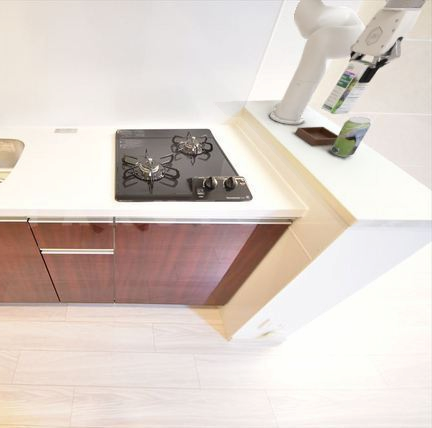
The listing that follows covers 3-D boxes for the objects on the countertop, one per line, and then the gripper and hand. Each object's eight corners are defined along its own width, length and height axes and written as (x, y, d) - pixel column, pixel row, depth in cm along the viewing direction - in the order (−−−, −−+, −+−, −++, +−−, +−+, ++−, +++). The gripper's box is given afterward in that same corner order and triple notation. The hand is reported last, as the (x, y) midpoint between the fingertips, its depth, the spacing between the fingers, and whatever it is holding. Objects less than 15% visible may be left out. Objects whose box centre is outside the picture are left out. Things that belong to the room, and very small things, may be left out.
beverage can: (354, 159, 76) (384, 124, 68) (330, 157, 77) (356, 122, 69) (345, 150, 80) (371, 115, 72) (321, 148, 82) (345, 114, 73)
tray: (294, 133, 90) (298, 127, 88) (319, 132, 90) (323, 126, 89) (311, 145, 83) (316, 139, 81) (338, 144, 83) (343, 138, 82)
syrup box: (320, 108, 81) (349, 60, 71) (335, 107, 81) (367, 59, 71) (332, 114, 77) (365, 64, 67) (348, 113, 77) (384, 63, 67)
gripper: (364, 1, 66) (323, 73, 79) (425, 4, 54) (366, 88, 66) (388, 1, 66) (344, 72, 79) (455, 3, 54) (390, 87, 67)
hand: (355, 79), depth 72 cm, fingers closed on syrup box, 5 cm apart
